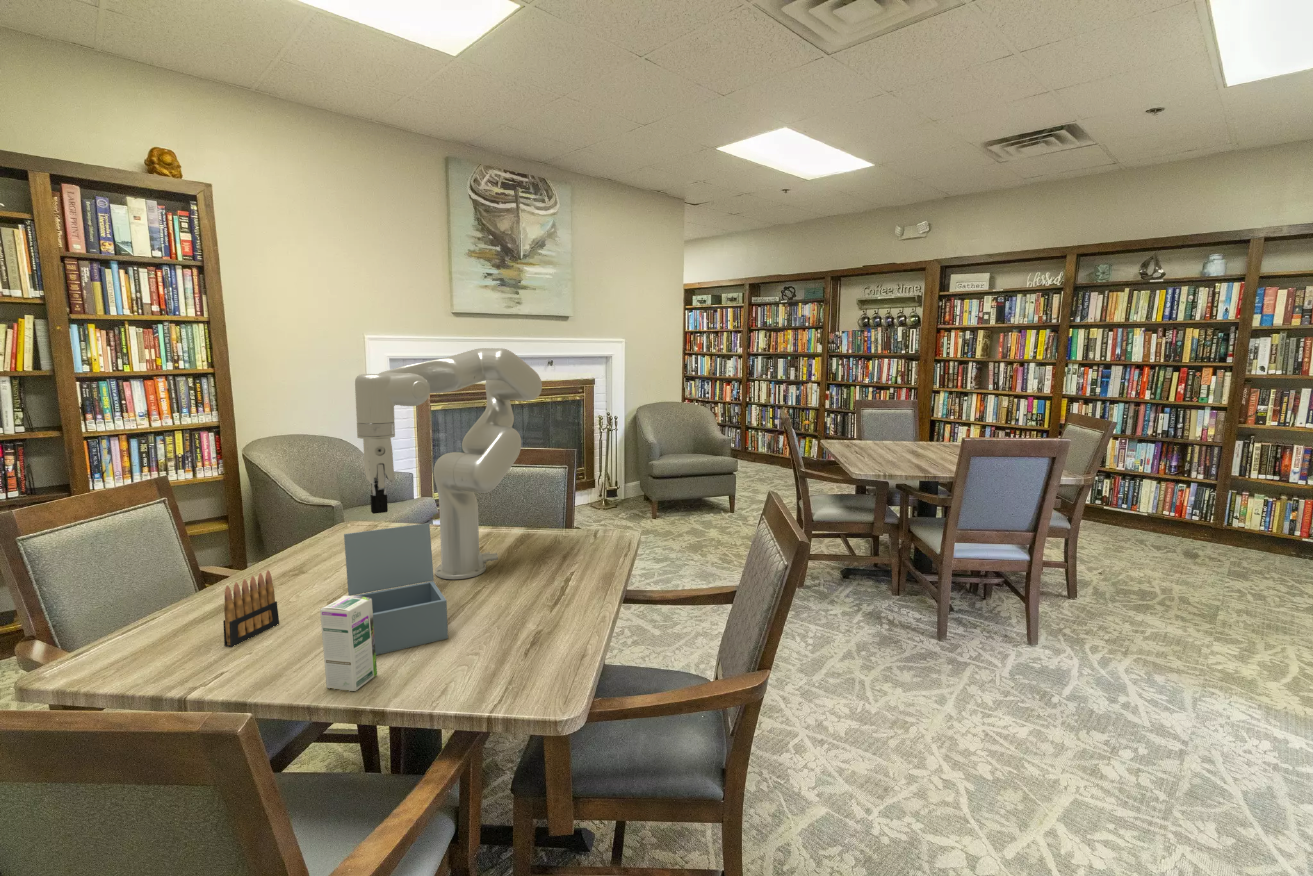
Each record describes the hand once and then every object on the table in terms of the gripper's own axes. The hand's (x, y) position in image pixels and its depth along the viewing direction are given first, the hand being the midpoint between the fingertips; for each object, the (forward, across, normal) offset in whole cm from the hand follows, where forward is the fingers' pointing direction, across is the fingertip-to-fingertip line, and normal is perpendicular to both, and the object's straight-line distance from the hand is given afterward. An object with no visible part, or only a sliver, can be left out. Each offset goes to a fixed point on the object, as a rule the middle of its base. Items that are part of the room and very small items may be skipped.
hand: (379, 512), depth 132 cm
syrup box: (+22, -33, +10) cm, 41 cm away
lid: (+7, -11, 0) cm, 13 cm away
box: (+22, -19, 0) cm, 29 cm away
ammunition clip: (+22, -3, +24) cm, 33 cm away
